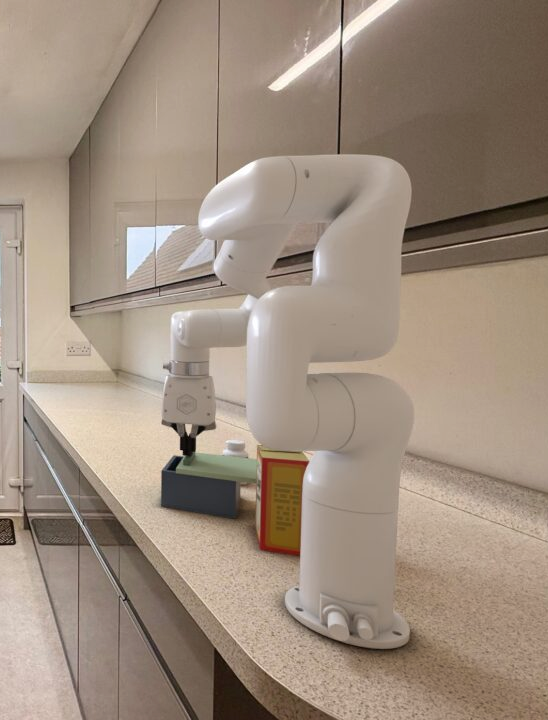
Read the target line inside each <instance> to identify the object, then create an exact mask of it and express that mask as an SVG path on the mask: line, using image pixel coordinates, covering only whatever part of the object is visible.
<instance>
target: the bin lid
mask: <svg viewBox="0 0 548 720" xmlns="http://www.w3.org/2000/svg"><path fill="white" fill-rule="evenodd" d="M176 473H179V474H186V475H194V476H201V477H209V478H216V479H224V480H231V481H239V482H246V483H247V484H254V485H256V474H257V458H249V457H248V458H241V457H232V456H223V454H222V455H221V454H215V453H214V454H212V453H204V452H193V454H192V455H191V456H188V455H186V456H184V457H183V459H182V460H181V462H180V463H179V465H178V466H177V468H176Z"/></svg>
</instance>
